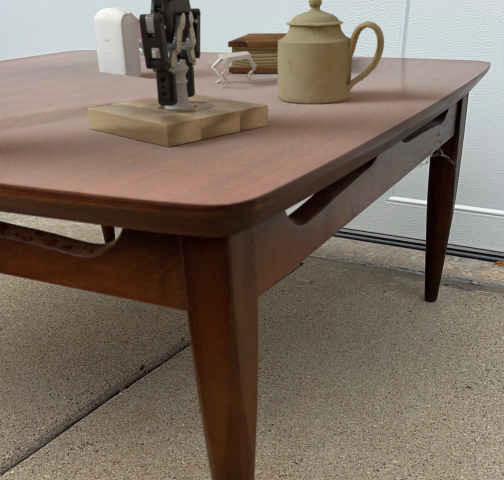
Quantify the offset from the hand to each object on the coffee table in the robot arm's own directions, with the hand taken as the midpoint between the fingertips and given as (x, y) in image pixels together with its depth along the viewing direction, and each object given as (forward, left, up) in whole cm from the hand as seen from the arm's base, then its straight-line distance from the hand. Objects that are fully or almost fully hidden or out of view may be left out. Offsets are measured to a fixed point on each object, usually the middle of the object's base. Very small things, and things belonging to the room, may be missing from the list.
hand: (177, 100), depth 86 cm
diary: (+54, +32, -4) cm, 63 cm away
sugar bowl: (+29, 0, -4) cm, 29 cm away
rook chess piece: (0, 0, -4) cm, 4 cm away
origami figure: (+30, +22, -4) cm, 37 cm away
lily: (+50, +77, -4) cm, 92 cm away
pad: (0, 0, -3) cm, 3 cm away
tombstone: (+23, +46, -4) cm, 52 cm away
